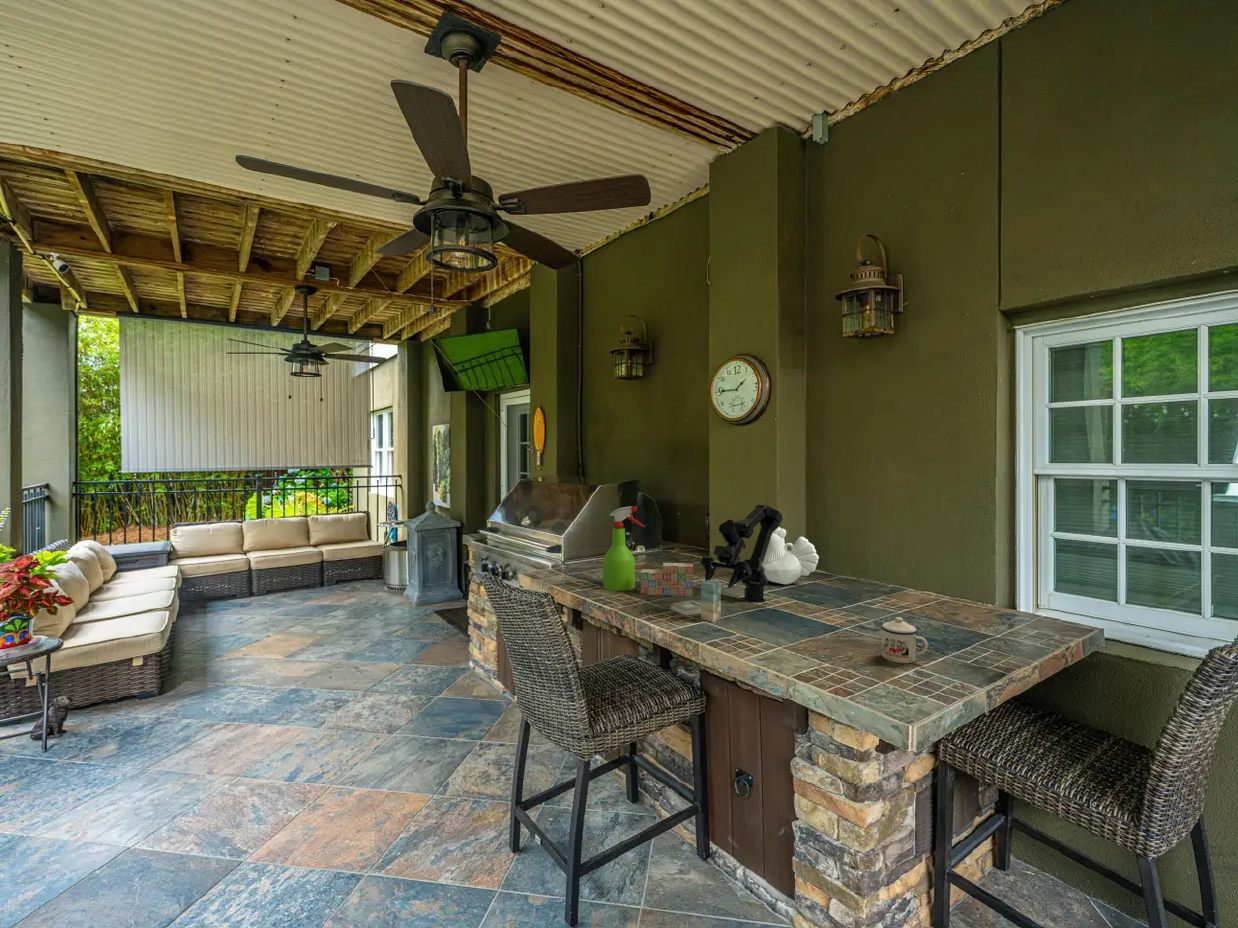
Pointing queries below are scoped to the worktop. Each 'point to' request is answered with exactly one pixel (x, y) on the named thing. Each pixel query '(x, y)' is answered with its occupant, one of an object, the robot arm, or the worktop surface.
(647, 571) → the stack of blocks
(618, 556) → the spray bottle
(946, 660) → the worktop surface
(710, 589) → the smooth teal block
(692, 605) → the base plate
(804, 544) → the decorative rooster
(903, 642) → the teacup with lid
